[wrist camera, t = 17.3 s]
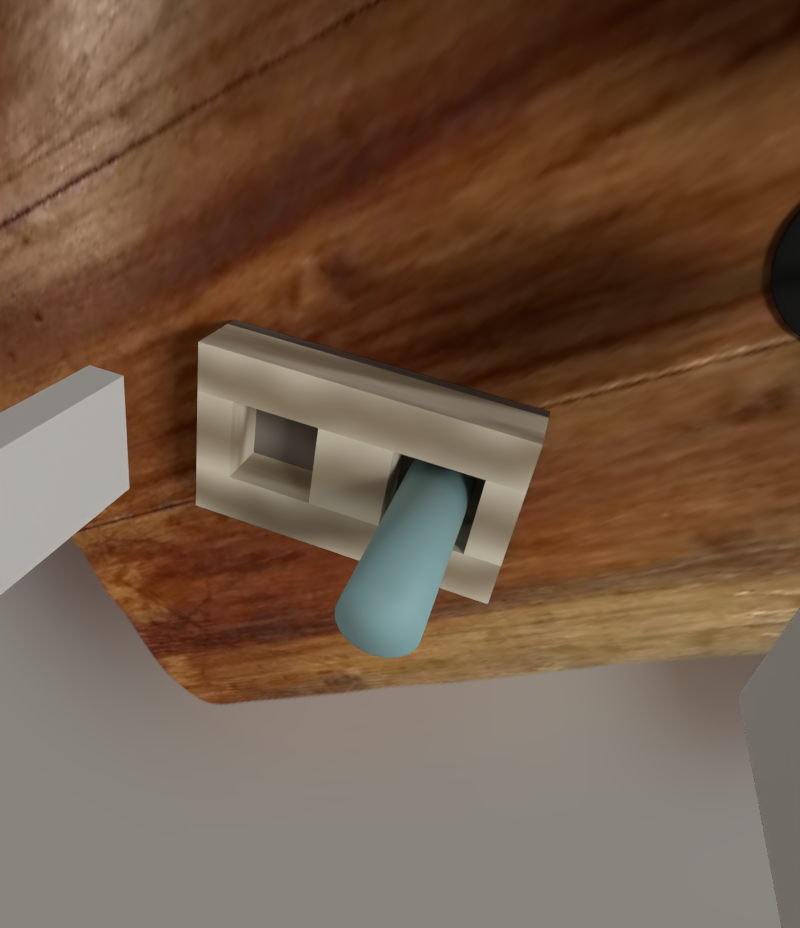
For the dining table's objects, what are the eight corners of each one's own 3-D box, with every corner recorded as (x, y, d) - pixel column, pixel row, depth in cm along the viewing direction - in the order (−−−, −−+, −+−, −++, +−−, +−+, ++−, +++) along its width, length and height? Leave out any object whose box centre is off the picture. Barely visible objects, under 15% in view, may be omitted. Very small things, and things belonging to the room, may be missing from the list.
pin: (416, 438, 49) (340, 576, 35) (482, 458, 48) (430, 606, 35) (405, 493, 51) (330, 640, 38) (467, 512, 51) (412, 669, 37)
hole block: (234, 319, 49) (198, 341, 45) (550, 411, 46) (542, 444, 42) (227, 474, 57) (195, 505, 53) (498, 563, 53) (487, 604, 49)
